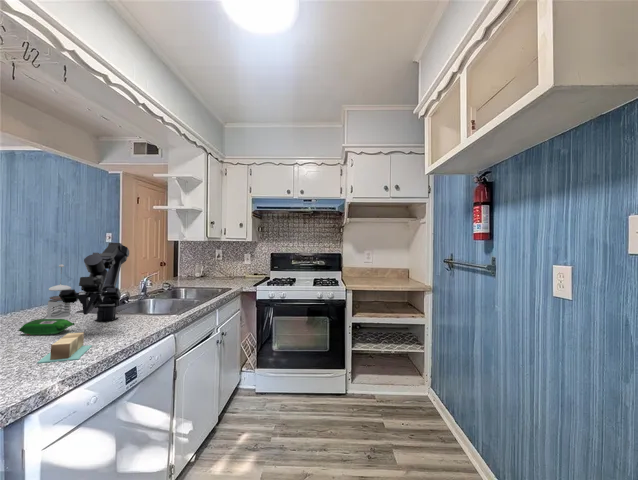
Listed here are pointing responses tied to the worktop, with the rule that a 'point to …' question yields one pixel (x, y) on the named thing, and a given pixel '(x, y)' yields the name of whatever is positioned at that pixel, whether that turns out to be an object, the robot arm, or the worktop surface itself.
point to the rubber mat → (73, 357)
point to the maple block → (67, 346)
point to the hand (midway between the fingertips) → (85, 314)
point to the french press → (58, 303)
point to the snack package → (45, 326)
